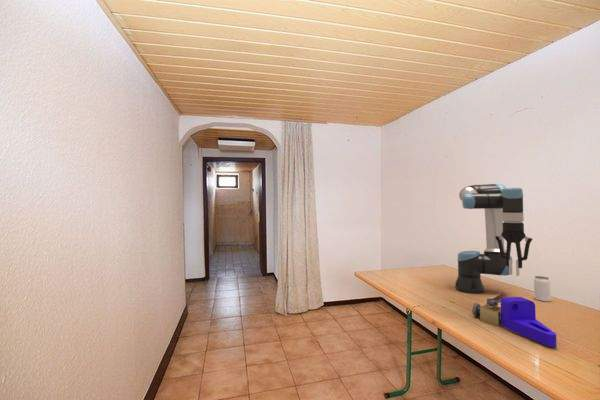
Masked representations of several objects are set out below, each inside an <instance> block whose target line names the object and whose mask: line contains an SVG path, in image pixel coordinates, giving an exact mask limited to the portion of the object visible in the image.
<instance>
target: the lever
mask: <svg viewBox="0 0 600 400" xmlns="http://www.w3.org/2000/svg"><path fill="white" fill-rule="evenodd" d="M504 297H508V294H503V293H500V294H498V295H496V296H495V297H492V298H486V304H488V305H491V306H497V307H499V303H501V300H502V298H504Z"/></svg>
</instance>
